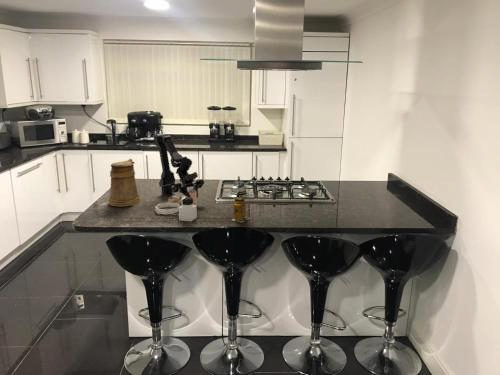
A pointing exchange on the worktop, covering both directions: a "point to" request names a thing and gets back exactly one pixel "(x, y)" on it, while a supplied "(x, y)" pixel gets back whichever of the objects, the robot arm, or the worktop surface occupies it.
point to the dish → (164, 211)
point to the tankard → (123, 184)
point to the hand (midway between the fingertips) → (193, 198)
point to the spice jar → (193, 196)
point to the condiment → (240, 210)
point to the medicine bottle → (187, 210)
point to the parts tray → (175, 200)
